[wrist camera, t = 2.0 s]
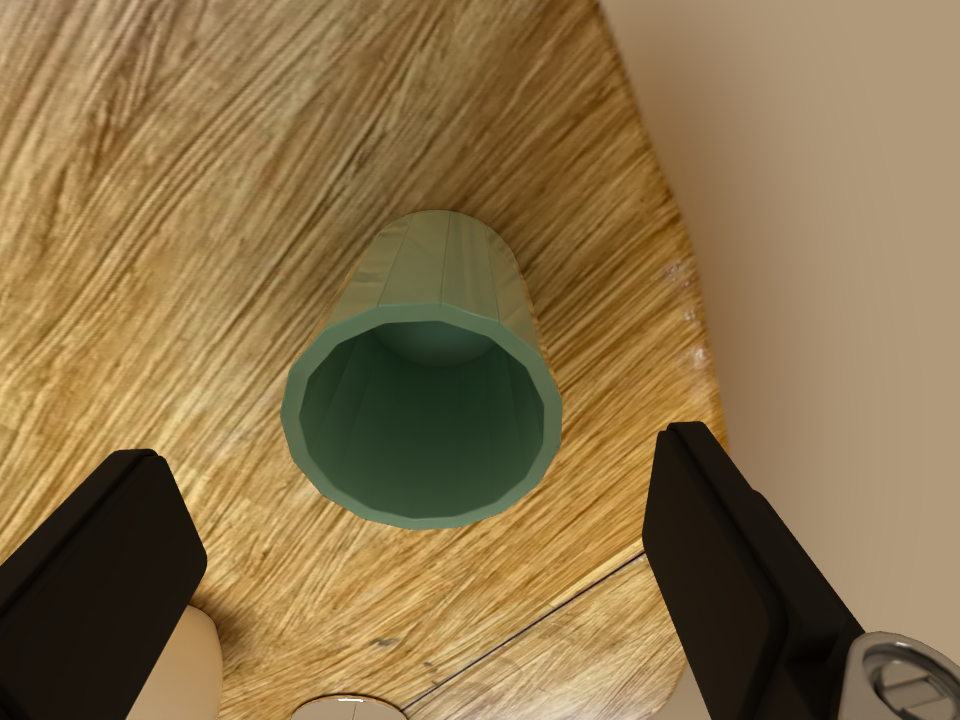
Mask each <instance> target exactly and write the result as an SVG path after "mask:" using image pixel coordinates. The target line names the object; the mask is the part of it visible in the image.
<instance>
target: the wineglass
mask: <svg viewBox="0 0 960 720" xmlns="http://www.w3.org/2000/svg"><path fill="white" fill-rule="evenodd" d="M290 720H407V719H406V717H405V716H404V715H403V714H402V713H401V712H400V711H399V710H398V709H396V708H395V707H393V706H392V705H389V704H387V703H385V702H383V701H380V700H377V699H373V698H368V697H363V696H354V695H336V696H329V697H323V698H319V699H316V700H313V701H311V702H308V703H306V704H304V705H303V706H301V707H300V708H298V709H297V710H296V711H295V712H294V713H293V714H292V716H291V719H290Z"/></svg>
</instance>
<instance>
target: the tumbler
mask: <svg viewBox="0 0 960 720" xmlns="http://www.w3.org/2000/svg"><path fill="white" fill-rule="evenodd" d="M562 409H563V402H562V397H561V394H560V391H559V388H558V385H557V381H556V378H555V375H554V372H553V368H552V365H551V362H550V359H549V356H548V352H547V349H546V346H545V343H544V340H543V336H542V333H541V330H540V327H539V323H538V320H537V317H536V314H535V311H534V307H533V304H532V301H531V298H530V295H529V291H528V288H527V285H526V282H525V279H524V277H523V274H522V272H521V270H520V267H519V264H518V261H517V259H516V257H515V256H514V254H513V252H512V250H511V249H510V247H509V246H508V244H507V243H506V242H505V241H504V240H503V239H502V237H501V236H500V235H499V234H498V233H497V232H495V231H494V230H493V229H492V228H490V227H489V226H488V225H486V224H484V223H483V222H481V221H479V220H478V219H475V218H473V217H471V216H468V215H465V214H462V213H459V212H454V211H448V210H426V211H419V212H415V213H411V214H408V215H405V216H403V217H400V218H398V219H396V220H394V221H393V222H391V223H389V224H388V225H386V226H385V227H384V228H383V229H381V230H380V231H379V232H378V233H377V234H376V235H375V236H374V237H373V238H372V239H371V241H370V242H369V243H368V245H367V246H366V248H365V249H364V250H363V251H362V253H361V254H360V255H359V256H358V258H357V260H356V261H355V263H354V264H353V266H352V268H351V269H350V271H349V273H348V274H347V276H346V278H345V279H344V281H343V282H342V284H341V286H340V287H339V289H338V291H337V292H336V294H335V296H334V297H333V299H332V301H331V302H330V304H329V305H328V307H327V309H326V310H325V312H324V314H323V315H322V317H321V319H320V320H319V322H318V323H317V325H316V327H315V328H314V330H313V332H312V333H311V335H310V337H309V338H308V340H307V341H306V343H305V345H304V346H303V348H302V350H301V351H300V353H299V355H298V356H297V358H296V360H295V361H294V363H293V364H292V366H291V368H290V370H289V373H288V378H287V383H286V387H285V392H284V397H283V401H282V406H281V411H280V418H281V422H282V425H283V429H284V432H285V436H286V439H287V443H288V446H289V450H290V453H291V457H292V459H293V461H294V462H295V463H296V465H297V466H298V467H299V468H300V469H301V470H302V472H303V473H304V474H305V475H306V476H307V478H308V479H309V480H310V481H311V482H312V484H313V485H314V486H315V487H316V488H317V489H318V491H319V492H320V493H321V494H323V496H325V497H326V498H328V499H330V500H332V501H333V502H335V503H337V504H338V505H340V506H342V507H344V508H345V509H347V510H349V511H351V512H352V513H354V514H356V515H357V516H359V517H361V518H363V519H364V518H365V519H366V520H369V521H374V522H378V523H382V524H387V525H391V526H395V527H400V528H404V529H408V530H411V529H412V530H426V529H446V528H459V527H463V526H466V525H469V524H472V523H475V522H477V521H480V520H483V519H486V518H489V517H492V516H494V515H497V514H500V513H502V512H503V511H506V510H507V509H508V508H510V507H511V506H512V505H514V504H515V503H516V502H517V501H519V500H520V499H521V498H522V497H524V496H525V495H526V494H528V493H529V492H530V491H531V490H533V489H534V488H535V487H536V486H538V484H539V483H540V482H541V480H542V478H543V477H544V475H545V473H546V471H547V469H548V468H549V466H550V464H551V462H552V460H553V459H554V457H555V455H556V453H557V451H558V450H559V448H560V444H561V429H562Z"/></svg>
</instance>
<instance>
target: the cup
mask: <svg viewBox="0 0 960 720" xmlns="http://www.w3.org/2000/svg"><path fill="white" fill-rule="evenodd" d="M222 688H223V660H222V652H221V646H220V642H219V637H218V633H217V629H216V626H215V624H214V622H213V620H212V619H211V618H210V617H209V616H208V615H207V614H205V613H204V612H202V611H201V610H199V609H197V608H195V607H193V606H190V605H187V607H186V609H185V611H184V613H183V614H182V616H181V618H180V620H179V622H178V624H177V626H176V627H175V629H174V631H173V633H172V635H171V637H170V639H169V640H168V642H167V644H166V646H165V648H164V650H163V651H162V653H161V655H160V657H159V659H158V661H157V663H156V664H155V666H154V668H153V670H152V672H151V674H150V675H149V677H148V679H147V681H146V683H145V685H144V687H143V688H142V690H141V692H140V694H139V696H138V698H137V700H136V701H135V703H134V705H133V707H132V709H131V711H130V712H129V714H128V716H127V718H126V720H217V719H218V715H219V710H220V705H221V698H222Z"/></svg>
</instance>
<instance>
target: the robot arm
mask: <svg viewBox="0 0 960 720" xmlns="http://www.w3.org/2000/svg"><path fill="white" fill-rule="evenodd" d="M642 541H643V546H644V550H645V553H646V555H647V558H648V561H649V563H650V566H651V568H652V571H653V573H654V576H655V578H656V581H657V583H658V586H659V588H660V591H661V593H662V596H663V598H664V601H665V604H666V606H667V609H668V611H669V614H670V616H671V619H672V621H673V624H674V626H675V629H676V631H677V634H678V636H679V639H680V641H681V644H682V646H683V649H684V652H685V654H686V657H687V659H688V662H689V664H690V667H691V669H692V672H693V674H694V677H695V679H696V682H697V684H698V687H699V689H700V692H701V694H702V697H703V699H704V702H705V705H706V707H707V710H708V712H709V715H710V717H711V719H712V720H960V667H959V666H958V665H956V664H955V663H954V662H953V661H951V660H950V659H949V658H947V657H946V656H945V655H943V654H942V653H940V652H938V651H936V650H935V649H933V648H931V647H929V646H927V645H926V644H924V643H922V642H920V641H917V640H915V639H912V638H909V637H906V636H903V635H901V634H896V633H889V632H882V631H878V632H871V633H866V632H865V631H864V630H863V628H862V627H861V625H860V624H859V623H858V621H857V620H856V619H855V618H854V616H853V615H852V613H851V612H850V611H849V609H848V608H847V607H846V605H845V604H844V603H843V601H842V600H841V599H840V597H839V596H838V595H837V593H836V592H835V591H834V589H833V588H832V587H831V585H830V584H829V583H828V581H827V580H826V579H825V577H824V576H823V575H822V573H821V572H820V571H819V569H818V568H817V567H816V565H815V564H814V563H813V561H812V560H811V559H810V557H809V556H808V555H807V553H806V552H805V550H804V549H803V548H802V546H801V545H800V544H799V543H798V541H797V540H796V538H795V537H794V536H793V534H792V533H791V532H790V530H789V529H788V528H787V526H786V525H785V524H784V522H783V521H782V520H781V518H780V517H779V516H778V514H777V513H776V512H775V510H774V509H773V508H772V506H771V505H770V504H769V502H768V501H767V500H766V498H764V496H763V495H762V494H761V493H759V492H758V491H756V490H753V489H752V488H751V487H750V485H749V484H748V483H747V481H746V480H745V478H744V477H743V475H742V474H741V473H740V471H739V470H738V469H737V467H736V466H735V464H734V463H733V462H732V460H731V459H730V458H729V456H728V455H727V454H726V452H725V451H724V449H723V448H722V447H721V445H720V444H719V443H718V441H717V440H716V438H715V437H714V436H713V434H712V433H711V432H710V430H709V429H708V428H707V426H706V425H705V424H704V423H703V422H701V421H693V422H673V423H670V424H669V425H668V426H667V429H666V431H660V432H659V433H658V436H657V441H656V448H655V454H654V460H653V467H652V473H651V479H650V485H649V492H648V498H647V504H646V511H645V517H644V523H643V529H642ZM206 567H207V554H206V551H205V549H204V547H203V544H202V542H201V540H200V537H199V535H198V533H197V530H196V528H195V526H194V523H193V521H192V519H191V516H190V514H189V512H188V510H187V507H186V505H185V503H184V500H183V498H182V496H181V493H180V491H179V489H178V486H177V484H176V482H175V479H174V477H173V475H172V472H171V470H170V468H169V465H168V463H167V461H166V459H165V458H164V457H162V456H158V454H157V453H156V452H155V451H154V450H153V449H129V450H118V451H114V452H113V453H112V454H110V455H109V456H108V457H107V458H106V459H105V460H104V461H103V462H102V463H101V464H100V465H99V466H98V467H97V468H96V469H95V470H94V471H93V472H92V473H91V474H90V475H89V476H88V477H87V478H86V479H85V481H84V482H83V483H82V484H81V485H80V486H79V487H78V488H77V489H76V490H75V491H74V492H73V493H72V494H71V495H70V496H69V497H68V498H67V499H66V500H65V501H64V502H63V503H62V504H61V505H60V506H59V507H58V508H57V509H56V510H55V511H54V512H53V513H52V514H51V515H50V516H49V517H48V518H47V519H46V520H45V521H44V522H43V523H42V524H41V525H40V526H39V527H38V528H37V529H36V530H35V531H34V532H33V533H32V534H31V536H30V537H29V538H28V539H27V540H26V541H25V542H24V543H23V544H22V545H21V546H20V547H19V548H18V549H17V550H16V551H15V552H14V553H13V554H12V555H11V556H10V557H9V558H8V559H7V560H6V561H5V562H4V563H3V564H2V565H1V566H0V720H126V718H127V716H128V714H129V712H130V711H131V709H132V707H133V705H134V703H135V701H136V700H137V698H138V696H139V694H140V692H141V690H142V688H143V687H144V685H145V683H146V681H147V679H148V677H149V675H150V674H151V672H152V670H153V668H154V666H155V664H156V663H157V661H158V659H159V657H160V655H161V653H162V651H163V650H164V648H165V646H166V644H167V642H168V640H169V639H170V637H171V635H172V633H173V631H174V629H175V627H176V626H177V624H178V622H179V620H180V618H181V616H182V614H183V613H184V611H185V609H186V607H187V605H188V603H189V602H190V600H191V598H192V596H193V594H194V592H195V590H196V589H197V587H198V585H199V583H200V581H201V579H202V577H203V576H204V573H205V571H206Z"/></svg>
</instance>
